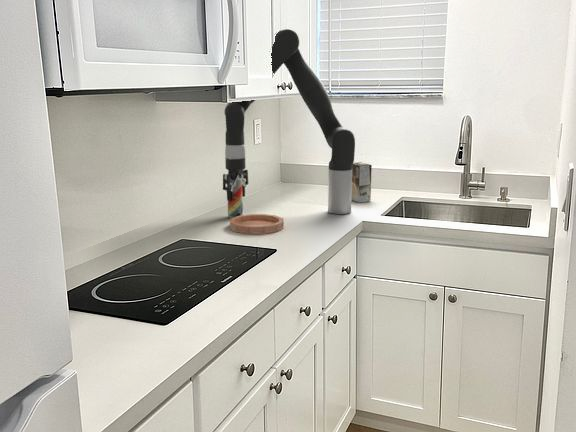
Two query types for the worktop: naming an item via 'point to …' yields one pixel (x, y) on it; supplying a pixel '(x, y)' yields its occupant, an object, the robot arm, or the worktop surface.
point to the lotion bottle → (236, 199)
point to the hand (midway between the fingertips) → (236, 198)
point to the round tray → (256, 224)
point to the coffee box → (361, 182)
